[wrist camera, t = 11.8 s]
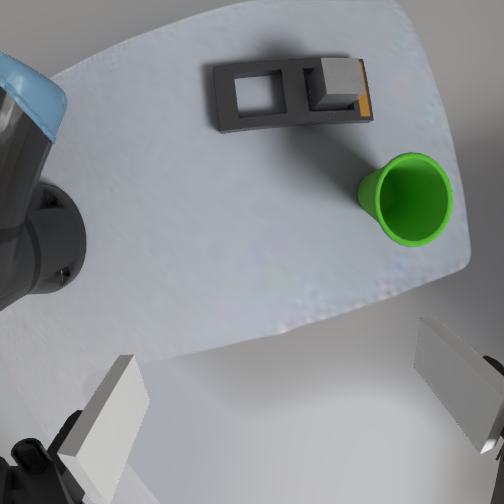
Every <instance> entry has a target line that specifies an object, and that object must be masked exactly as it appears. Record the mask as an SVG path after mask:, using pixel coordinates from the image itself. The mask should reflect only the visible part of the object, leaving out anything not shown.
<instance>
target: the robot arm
mask: <svg viewBox="0 0 504 504" xmlns="http://www.w3.org/2000/svg"><path fill="white" fill-rule="evenodd" d="M66 107H67V98H66V95H65V93H64V91H63V90H62V89H61V88H60V87H59V86H58V85H56V84H55V83H54V82H52V81H51V80H49V79H48V78H46V77H45V76H43V75H42V74H40V73H39V72H37V71H35V70H34V69H32V68H31V67H29V66H27V65H25V64H24V63H22V62H20V61H18V60H16V59H15V58H12V57H11V56H9V55H6V54H4V53H3V52H0V311H2V310H3V309H5V308H6V307H8V306H9V305H11V304H12V303H14V302H15V301H17V300H19V299H20V298H22V297H23V296H25V295H27V294H48V293H53V292H56V291H58V290H60V289H62V288H63V287H65V286H66V285H68V284H69V283H71V282H72V281H73V280H74V279H75V277H76V276H77V275H78V273H79V272H80V270H81V268H82V265H83V262H84V259H85V254H86V232H85V227H84V223H83V220H82V217H81V214H80V212H79V210H78V208H77V206H76V205H75V203H74V202H73V201H72V199H71V198H70V197H69V196H68V195H67V194H66V193H65V192H63V191H62V190H61V189H59V188H57V187H55V186H52V185H48V184H38V185H37V183H38V181H39V178H40V175H41V172H42V170H43V167H44V164H45V162H46V159H47V157H48V154H49V152H50V149H51V147H52V145H53V144H55V141H56V137H55V136H56V133H57V131H58V128H59V126H60V123H61V121H62V118H63V116H64V113H65V111H66ZM414 368H415V369H416V370H417V372H418V373H419V374H420V375H421V377H422V378H423V379H424V380H425V382H426V383H427V384H428V386H429V387H430V388H431V389H432V391H433V392H434V393H435V395H437V397H438V398H439V400H440V401H441V402H442V403H443V405H444V406H445V408H446V409H447V410H448V411H449V413H450V414H451V415H452V417H453V418H454V419H455V421H456V422H457V423H458V425H459V426H460V427H461V428H462V430H463V431H464V433H465V434H466V436H467V437H468V438H469V440H470V441H471V442H472V444H473V445H474V446H475V448H476V449H477V451H478V452H479V453H480V454H481V453H483V452H485V451H487V450H489V449H491V448H493V447H495V446H496V444H497V442H498V439H499V437H500V435H501V436H502V437H503V439H504V367H503V365H502V364H500V363H499V362H498V361H497V360H495V359H493V358H491V357H488V356H483V357H481V356H480V355H479V354H478V353H477V352H476V351H475V350H473V349H472V348H471V347H470V346H469V345H468V344H466V343H465V342H464V341H463V340H462V339H461V338H459V337H458V336H457V335H456V334H455V333H453V332H452V331H451V330H450V329H449V328H447V327H446V326H445V325H444V324H443V323H442V322H440V321H439V320H438V319H437V318H436V317H434V316H433V315H430V316H426V317H422V318H419V326H418V337H417V346H416V355H415V363H414ZM149 403H150V400H149V397H148V394H147V392H146V389H145V386H144V383H143V380H142V377H141V374H140V371H139V368H138V365H137V362H136V359H135V355H119V357H118V358H117V360H116V361H115V363H114V364H113V366H112V367H111V369H110V370H109V372H108V373H107V375H106V376H105V378H104V379H103V381H102V382H101V384H100V385H99V387H98V388H97V390H96V391H95V393H94V395H93V396H92V398H91V399H90V401H89V402H88V404H87V405H86V407H85V409H84V410H77V411H76V412H74V413H73V414H72V415H71V416H69V417H68V419H67V420H66V422H65V423H64V425H63V427H62V428H61V429H60V431H59V433H58V434H57V435H56V437H55V439H54V440H53V442H52V443H51V445H50V446H49V448H48V450H47V451H46V450H45V448H44V447H43V445H42V444H41V442H40V441H39V440H37V439H35V438H27V439H23V440H21V441H19V442H18V443H16V444H15V445H14V447H13V448H12V450H11V456H12V457H13V459H14V460H15V461H16V463H17V464H18V466H9V464H8V463H7V462H6V460H5V459H4V458H2V457H1V456H0V504H84V502H83V501H82V499H83V496H84V494H86V495H87V496H88V498H89V499H90V500H91V501H92V502H95V503H99V504H111V501H112V498H113V496H114V493H115V490H116V487H117V485H118V482H119V479H120V477H121V474H122V471H123V469H124V466H125V464H126V461H127V458H128V456H129V453H130V451H131V448H132V445H133V443H134V440H135V438H136V435H137V433H138V430H139V428H140V425H141V423H142V420H143V418H144V415H145V413H146V410H147V408H148V405H149ZM500 456H501V457H500ZM499 457H500V462H499V468H498V473H497V478H496V483H495V488H494V492H493V496H492V500H491V504H504V443H503V445H502V448H501V449H500V451H499V454H498V455H497V458H496V460H498V459H499Z"/></svg>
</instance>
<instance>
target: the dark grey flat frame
mask: <svg viewBox="0 0 504 504" xmlns="http://www.w3.org/2000/svg"><path fill="white" fill-rule="evenodd" d="M319 60H320V59H290V60H273V61H261V62H250V63H241V64H232V65H225V66H217V67H213V73H214V82H215V91H216V100H217V109H218V117H219V126H220V132H221V134H223V133H231V132H239V131H247V130H256V129H266V128H276V127H288V126H301V125H317V124H337V123H368V122H371V121H373V120H374V119H373V113H372V106H371V100H370V94H369V88H368V83H367V77H366V72H365V67H364V62H363V59H359V63H360V68H361V74H362V79H363V84H364V90H365V94H364V95H363V96H361V97H360V98H358V99H357V100H355V101H354V102H353V103H351V104H350V105H349V110H345V111H317V112H309V106H308V99H307V92H306V86H305V79H304V73H312V71H313V70H314V68H315V66H316V65H317V63H318V62H319ZM267 75H280V79H281V86H282V93H283V100H284V107H285V114H274V115H263V116H254V117H245V118H239V114H238V106H237V97H236V89H235V81H234V79H238V78H247V77H256V76H267Z"/></svg>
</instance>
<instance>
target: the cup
mask: <svg viewBox="0 0 504 504" xmlns="http://www.w3.org/2000/svg"><path fill="white" fill-rule="evenodd" d="M357 196H358V201H359V203H360V205H361V207H362V208H363V209H364V210H365V211H366V212H367V213H368V214H369V215H370V216H372V217H373V218H374V219H375V220H376V221H377V222H378V223H379V224H380V226H381V228H382V229H383V231H384V232H385V233H386V234H387V235H388V236H389V237H390V238H391V240H393V241H395V242H397V243H398V244H400V245H404V246H408V247H418V246H422V245H425V244H428V243H429V242H431V241H432V240H434V239H435V238H437V237H438V236H439V234H440V233H441V232H442V231H443V230H444V228H445V226H446V225H447V223H448V221H449V218H450V215H451V211H452V203H453V198H452V189H451V185H450V182H449V179H448V177H447V175H446V174H445V172H444V170H443V169H442V168H441V167H440V165H439V164H438V163H437V162H436V161H434V160H433V159H431V158H430V157H428V156H426V155H423V154H421V153H411V152H410V153H405V154H401V155H399V156H397V157H395V158H393V159H392V160H391V161H390V162H389V163H388V164H387V165H386V166H384V167H382V168H380V169H378V170H376V171H374V172H372V173H370V174H369V175H367V176H365V177H364V178H363V179H362V180H361V182H360V184H359V186H358V191H357Z"/></svg>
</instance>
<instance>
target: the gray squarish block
mask: <svg viewBox="0 0 504 504" xmlns="http://www.w3.org/2000/svg"><path fill="white" fill-rule="evenodd" d="M307 81H308V87H309V94H310V100H311V107H312V110H325V109H344V108H345V107H347V106H348V105H350V104H351V103H353V102H354V101H355V100H357V99H358V98H360V97H361V96H363V95H364V94H365V90H364V84H363V79H362V74H361V68H360V63H359V58H320V60H319V62H318V63H317V65H316V66H315V68H314V70H313V71H312V73H311V75H310V76H309V78H308V79H307Z"/></svg>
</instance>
